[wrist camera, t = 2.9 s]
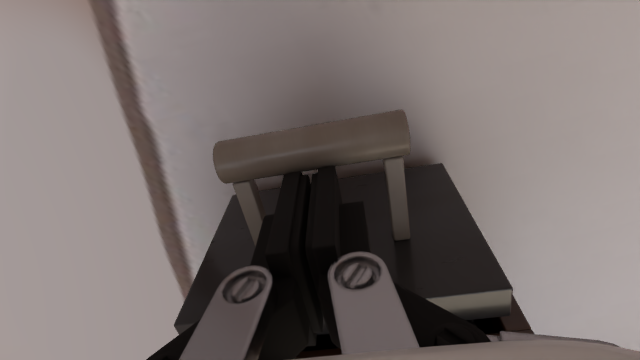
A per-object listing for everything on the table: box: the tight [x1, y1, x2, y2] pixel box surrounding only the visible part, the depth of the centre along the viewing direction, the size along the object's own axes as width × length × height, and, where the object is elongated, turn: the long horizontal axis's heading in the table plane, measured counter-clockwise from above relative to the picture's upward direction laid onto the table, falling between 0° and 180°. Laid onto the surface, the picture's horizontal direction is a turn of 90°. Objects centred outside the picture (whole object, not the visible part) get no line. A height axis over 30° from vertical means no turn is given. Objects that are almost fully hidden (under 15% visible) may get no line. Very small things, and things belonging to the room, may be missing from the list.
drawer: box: [174, 110, 513, 351], centre depth 16 cm, size 18×10×8 cm, turn 11°
